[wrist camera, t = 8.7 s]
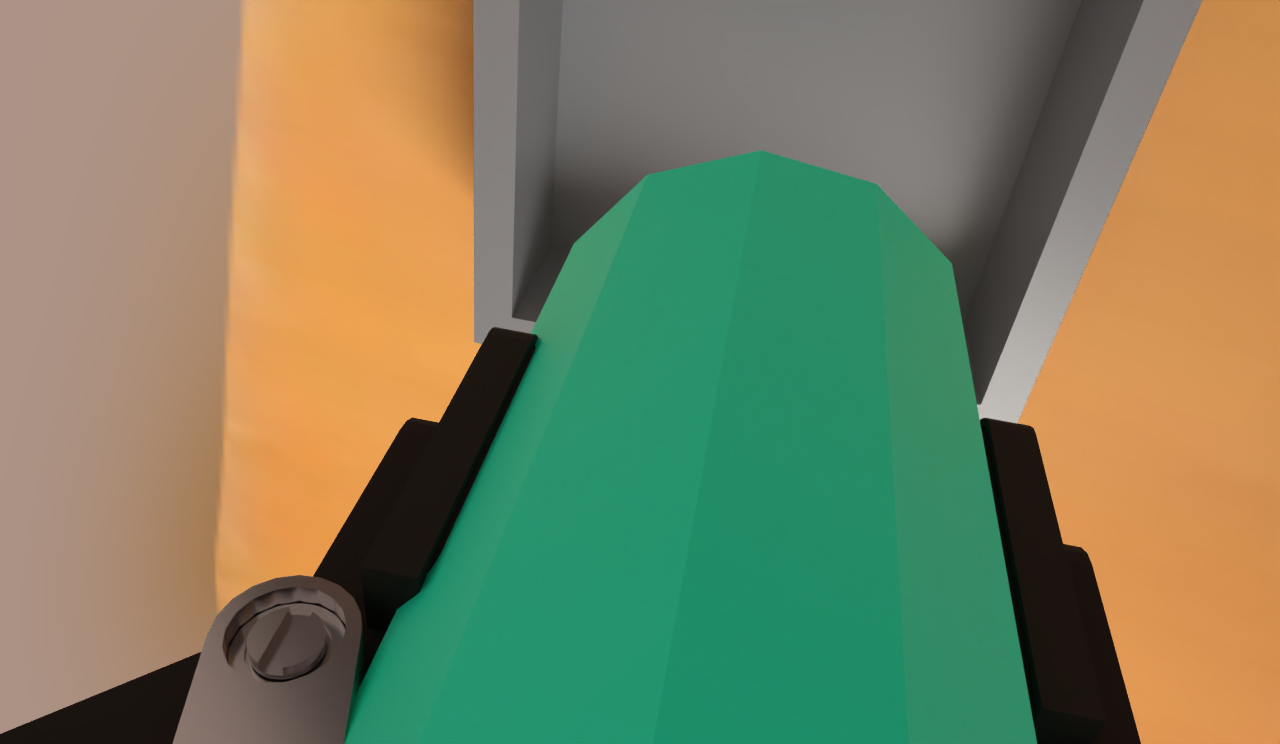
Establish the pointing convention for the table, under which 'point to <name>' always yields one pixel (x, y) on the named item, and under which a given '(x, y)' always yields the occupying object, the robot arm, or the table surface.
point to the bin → (827, 133)
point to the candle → (725, 495)
